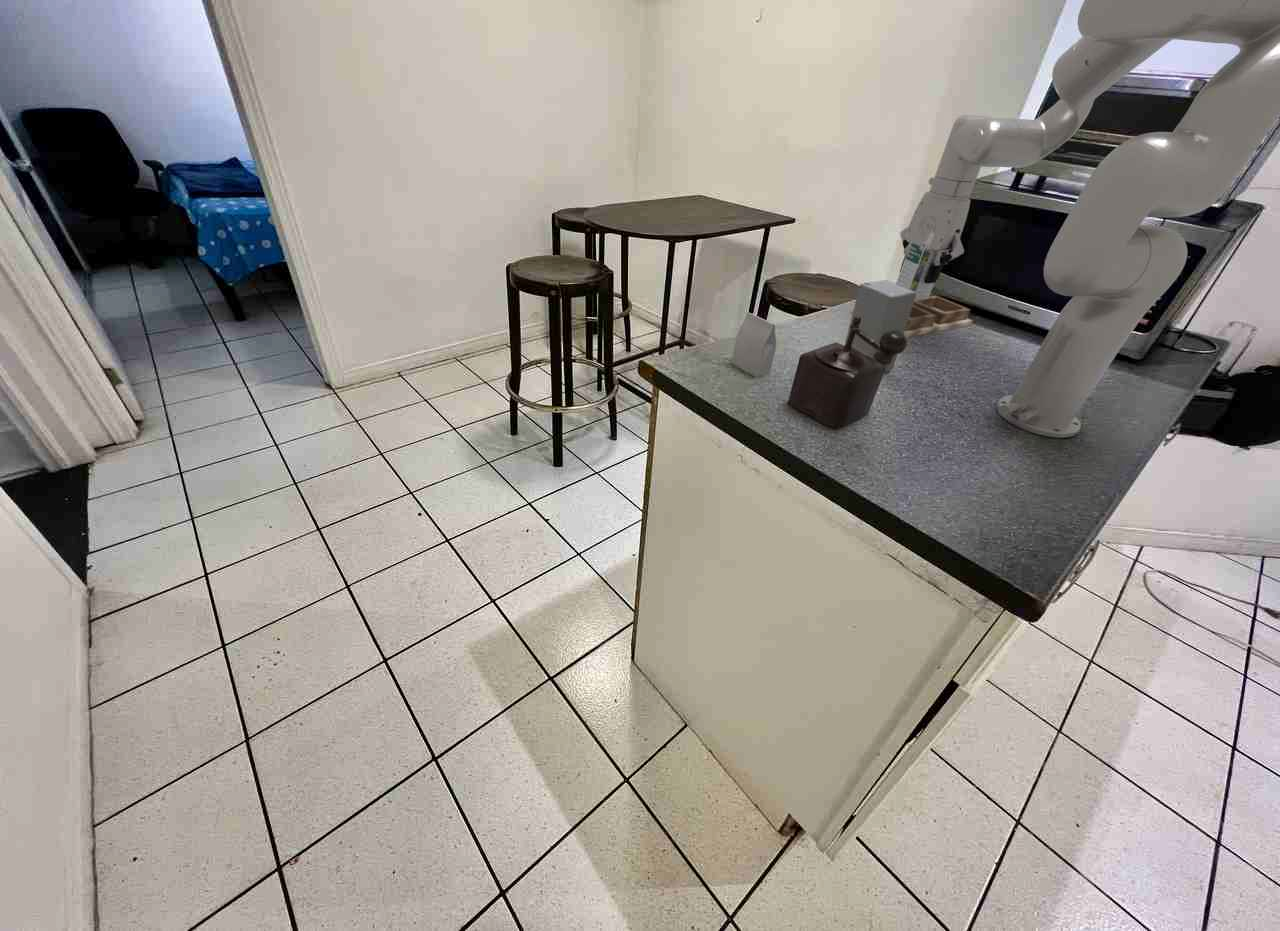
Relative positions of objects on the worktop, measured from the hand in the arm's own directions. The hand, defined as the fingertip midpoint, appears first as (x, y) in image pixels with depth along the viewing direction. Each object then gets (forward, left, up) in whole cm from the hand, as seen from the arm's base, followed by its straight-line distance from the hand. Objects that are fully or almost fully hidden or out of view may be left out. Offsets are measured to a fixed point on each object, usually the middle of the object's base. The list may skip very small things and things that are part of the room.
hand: (917, 276), depth 117 cm
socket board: (+6, +2, -11) cm, 13 cm away
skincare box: (-25, -13, -11) cm, 30 cm away
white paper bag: (-48, -6, -11) cm, 50 cm away
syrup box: (0, 0, -5) cm, 5 cm away
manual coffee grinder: (-44, -26, -11) cm, 52 cm away
